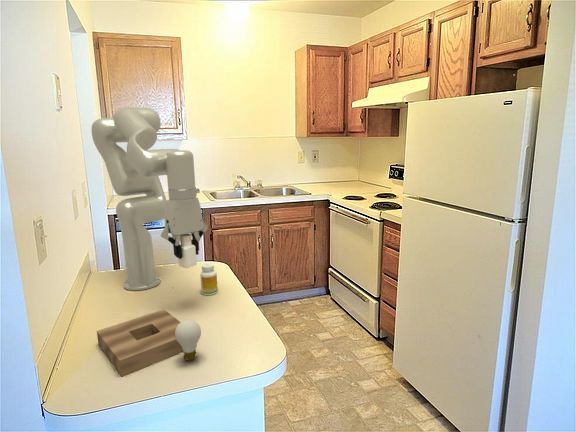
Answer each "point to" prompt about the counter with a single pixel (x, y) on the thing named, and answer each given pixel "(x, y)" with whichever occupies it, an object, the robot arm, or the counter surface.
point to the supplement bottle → (208, 280)
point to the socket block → (140, 341)
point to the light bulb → (188, 337)
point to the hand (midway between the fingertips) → (187, 254)
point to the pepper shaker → (187, 252)
